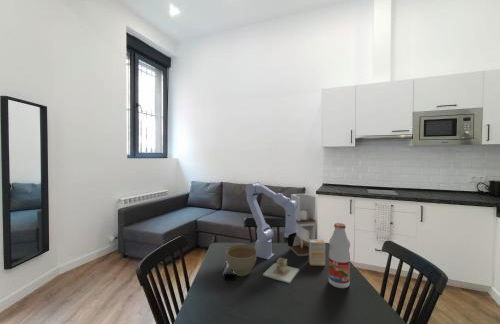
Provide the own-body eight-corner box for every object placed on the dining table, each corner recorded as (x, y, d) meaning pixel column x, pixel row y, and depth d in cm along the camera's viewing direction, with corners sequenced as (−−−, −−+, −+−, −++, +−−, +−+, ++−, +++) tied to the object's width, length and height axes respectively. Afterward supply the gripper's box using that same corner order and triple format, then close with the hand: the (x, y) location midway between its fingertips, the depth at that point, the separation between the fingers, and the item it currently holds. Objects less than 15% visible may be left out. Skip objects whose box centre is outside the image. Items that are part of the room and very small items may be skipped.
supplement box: (323, 262, 133) (323, 239, 132) (325, 266, 128) (325, 242, 127) (308, 261, 134) (308, 238, 133) (309, 265, 129) (309, 241, 128)
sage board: (262, 275, 118) (262, 273, 118) (274, 264, 130) (274, 262, 130) (289, 283, 111) (289, 281, 111) (299, 270, 123) (299, 268, 123)
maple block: (276, 272, 120) (276, 260, 120) (279, 268, 123) (279, 257, 123) (284, 274, 118) (284, 262, 118) (286, 270, 121) (287, 259, 121)
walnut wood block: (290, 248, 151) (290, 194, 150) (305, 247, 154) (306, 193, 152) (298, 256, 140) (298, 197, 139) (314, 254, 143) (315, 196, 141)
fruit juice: (353, 283, 111) (354, 224, 110) (343, 291, 105) (344, 229, 104) (334, 275, 118) (335, 220, 117) (324, 282, 112) (325, 224, 111)
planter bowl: (220, 277, 117) (220, 255, 116) (232, 262, 132) (232, 243, 132) (252, 282, 112) (252, 259, 112) (260, 266, 128) (260, 246, 127)
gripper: (293, 226, 123) (292, 252, 123) (301, 219, 135) (301, 243, 136) (280, 224, 126) (280, 249, 127) (290, 218, 139) (290, 240, 139)
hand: (290, 246), depth 132 cm, fingers closed
